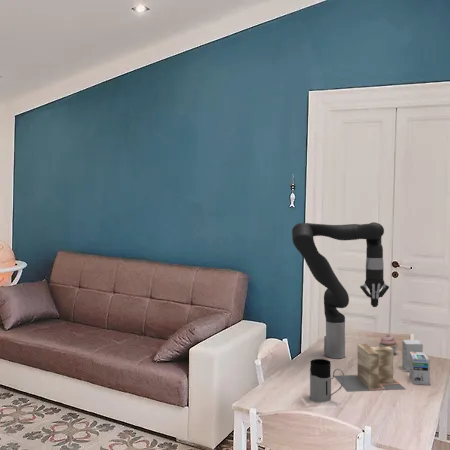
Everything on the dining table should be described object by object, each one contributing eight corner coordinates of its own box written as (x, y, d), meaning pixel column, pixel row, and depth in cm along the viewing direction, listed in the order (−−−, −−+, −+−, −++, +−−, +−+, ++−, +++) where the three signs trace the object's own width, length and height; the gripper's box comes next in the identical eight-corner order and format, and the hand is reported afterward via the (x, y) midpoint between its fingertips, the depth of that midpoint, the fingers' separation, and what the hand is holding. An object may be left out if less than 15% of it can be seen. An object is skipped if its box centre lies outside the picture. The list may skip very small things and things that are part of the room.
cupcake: (376, 354, 261) (376, 334, 260) (380, 350, 269) (380, 330, 269) (396, 357, 257) (396, 336, 256) (399, 352, 265) (399, 332, 264)
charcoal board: (346, 394, 209) (346, 391, 209) (333, 378, 228) (333, 375, 228) (406, 391, 211) (406, 388, 211) (388, 376, 230) (388, 373, 230)
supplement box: (418, 366, 242) (418, 339, 241) (423, 372, 234) (423, 343, 234) (401, 366, 242) (402, 339, 242) (405, 371, 235) (405, 343, 234)
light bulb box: (430, 385, 218) (430, 359, 217) (412, 384, 219) (413, 358, 219) (425, 376, 228) (425, 351, 228) (409, 375, 230) (409, 351, 229)
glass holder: (316, 394, 209) (316, 357, 208) (349, 403, 200) (349, 363, 199) (304, 401, 202) (304, 362, 201) (338, 410, 193) (338, 369, 192)
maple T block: (368, 388, 212) (368, 353, 212) (357, 376, 226) (357, 344, 226) (398, 387, 213) (398, 352, 212) (384, 375, 227) (385, 343, 226)
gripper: (362, 269, 230) (362, 308, 231) (392, 268, 231) (392, 308, 232) (357, 267, 237) (357, 305, 238) (386, 266, 238) (385, 304, 239)
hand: (374, 306), depth 235 cm, fingers closed
